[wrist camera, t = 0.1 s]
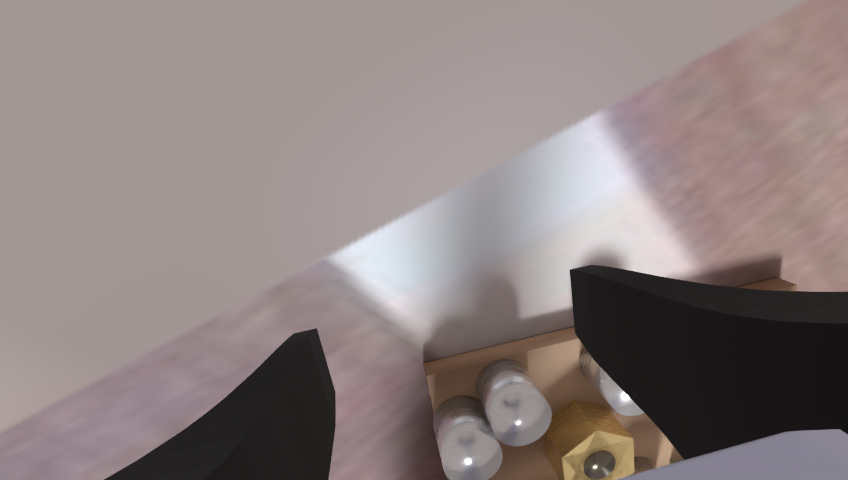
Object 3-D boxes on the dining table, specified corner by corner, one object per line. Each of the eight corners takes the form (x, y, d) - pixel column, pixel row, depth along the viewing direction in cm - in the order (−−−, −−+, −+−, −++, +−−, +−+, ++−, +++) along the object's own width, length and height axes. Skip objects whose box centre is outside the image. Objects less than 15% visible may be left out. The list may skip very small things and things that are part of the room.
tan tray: (763, 440, 29) (802, 471, 26) (457, 526, 27) (467, 569, 24) (776, 277, 25) (824, 295, 22) (423, 363, 23) (431, 393, 20)
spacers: (655, 487, 27) (690, 531, 24) (457, 544, 25) (470, 597, 23) (652, 321, 23) (694, 350, 20) (423, 378, 22) (432, 416, 19)
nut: (623, 426, 25) (652, 460, 22) (563, 473, 25) (585, 511, 23) (589, 386, 24) (615, 417, 21) (526, 436, 24) (545, 472, 22)
